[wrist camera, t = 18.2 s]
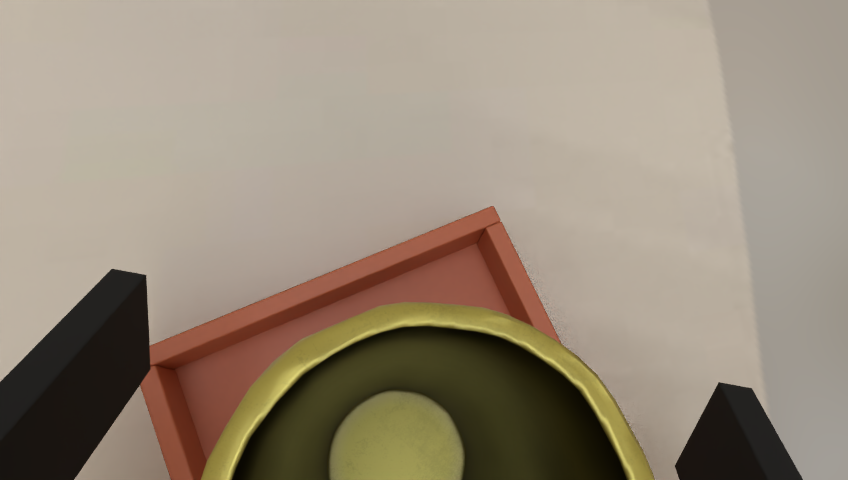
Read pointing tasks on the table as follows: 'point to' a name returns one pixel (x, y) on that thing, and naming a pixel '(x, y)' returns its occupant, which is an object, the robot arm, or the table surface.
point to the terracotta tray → (324, 326)
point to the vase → (428, 405)
